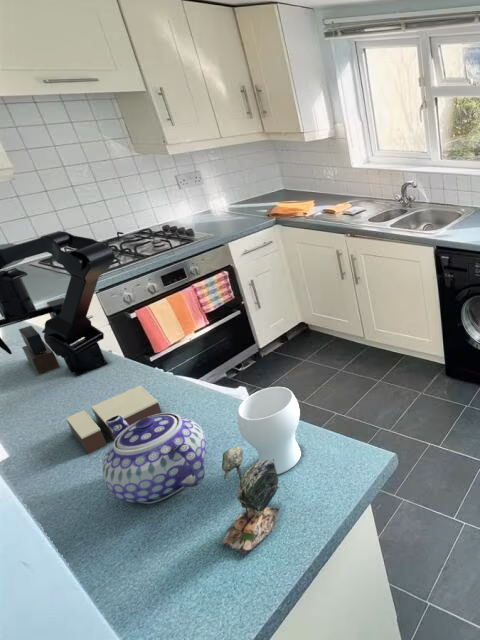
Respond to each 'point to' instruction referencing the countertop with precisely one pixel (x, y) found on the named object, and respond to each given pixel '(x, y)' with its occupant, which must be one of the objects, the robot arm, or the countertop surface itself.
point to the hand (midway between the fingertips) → (35, 345)
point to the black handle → (32, 340)
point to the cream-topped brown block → (86, 431)
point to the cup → (271, 426)
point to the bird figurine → (251, 501)
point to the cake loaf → (126, 407)
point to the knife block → (42, 360)
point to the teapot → (154, 457)
